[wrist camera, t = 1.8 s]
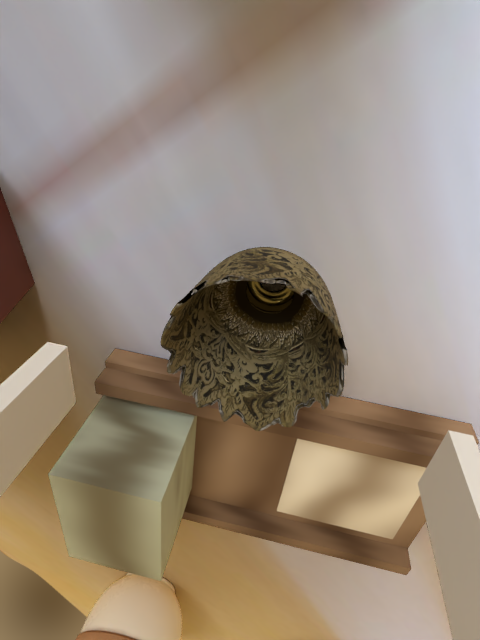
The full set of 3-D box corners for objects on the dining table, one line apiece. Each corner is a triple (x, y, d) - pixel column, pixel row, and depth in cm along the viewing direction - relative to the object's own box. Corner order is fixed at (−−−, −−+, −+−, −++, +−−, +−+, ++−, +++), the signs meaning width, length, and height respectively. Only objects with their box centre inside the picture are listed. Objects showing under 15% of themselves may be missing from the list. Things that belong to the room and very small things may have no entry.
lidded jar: (92, 573, 47) (45, 672, 39) (137, 548, 42) (93, 657, 34) (161, 614, 49) (130, 714, 42) (212, 595, 44) (188, 706, 36)
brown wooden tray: (125, 472, 35) (73, 574, 28) (115, 348, 27) (40, 444, 20) (398, 539, 32) (418, 669, 25) (471, 424, 25) (529, 562, 18)
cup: (260, 351, 25) (236, 451, 18) (184, 263, 23) (124, 340, 16) (366, 294, 21) (385, 392, 15) (289, 184, 19) (270, 240, 12)
